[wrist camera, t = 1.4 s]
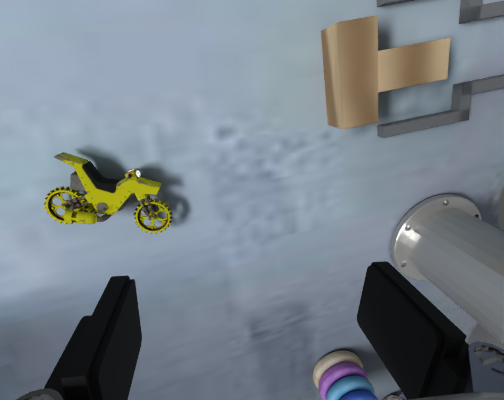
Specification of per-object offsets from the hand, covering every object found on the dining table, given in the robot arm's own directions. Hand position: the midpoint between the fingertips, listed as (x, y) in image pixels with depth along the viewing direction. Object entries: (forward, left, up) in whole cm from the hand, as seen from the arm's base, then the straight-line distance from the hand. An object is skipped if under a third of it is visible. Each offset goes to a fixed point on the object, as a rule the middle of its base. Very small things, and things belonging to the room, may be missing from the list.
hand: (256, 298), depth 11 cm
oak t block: (-10, -15, -21) cm, 28 cm away
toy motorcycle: (+9, +7, -22) cm, 25 cm away
